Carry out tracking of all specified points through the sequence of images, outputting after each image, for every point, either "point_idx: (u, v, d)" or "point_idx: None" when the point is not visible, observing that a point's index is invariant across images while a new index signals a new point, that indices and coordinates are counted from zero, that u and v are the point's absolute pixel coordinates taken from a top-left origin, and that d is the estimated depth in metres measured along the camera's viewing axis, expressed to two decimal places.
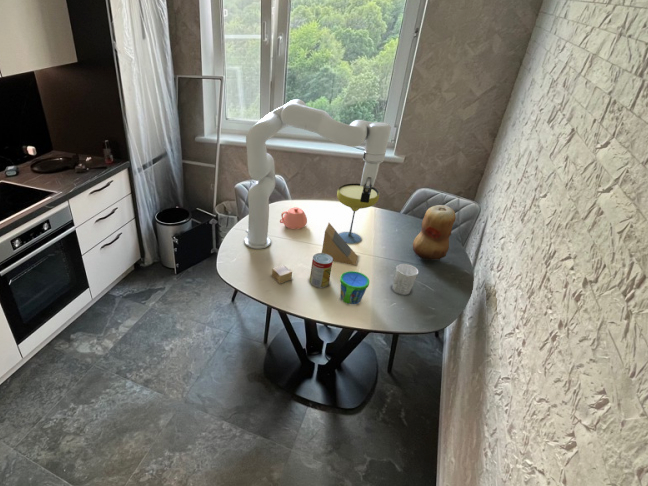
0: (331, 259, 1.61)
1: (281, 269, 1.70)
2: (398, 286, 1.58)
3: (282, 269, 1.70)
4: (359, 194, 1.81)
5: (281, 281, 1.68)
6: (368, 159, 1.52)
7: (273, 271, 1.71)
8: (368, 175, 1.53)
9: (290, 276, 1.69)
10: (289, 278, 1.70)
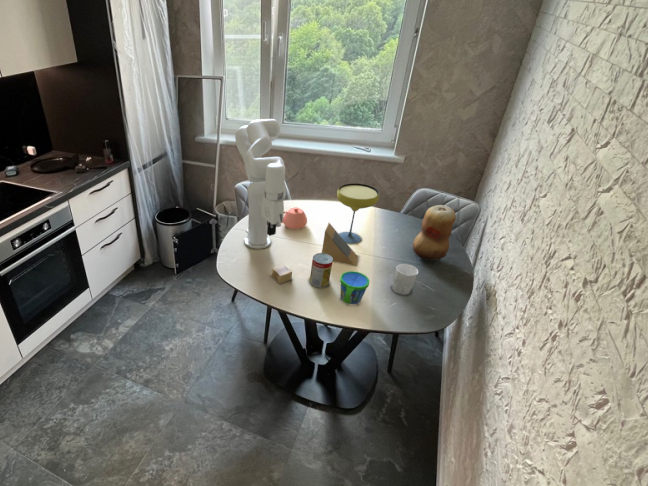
0: (331, 259, 1.61)
1: (281, 269, 1.70)
2: (398, 286, 1.58)
3: (282, 269, 1.70)
4: (359, 194, 1.81)
5: (281, 281, 1.68)
6: (275, 199, 1.56)
7: (273, 271, 1.71)
8: (279, 212, 1.59)
9: (290, 276, 1.69)
10: (289, 278, 1.70)
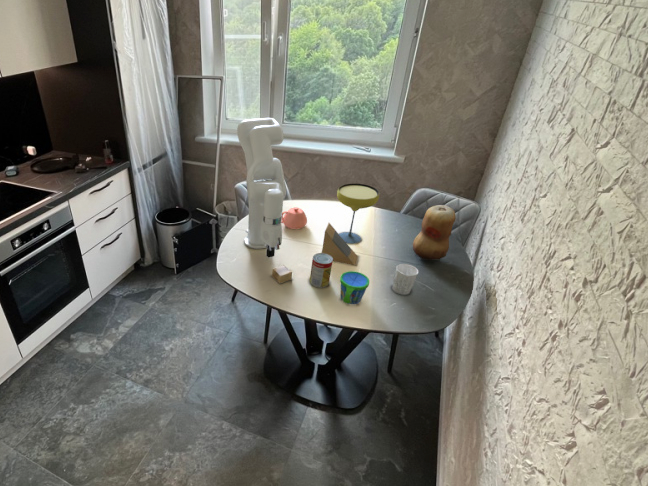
0: (331, 259, 1.61)
1: (281, 269, 1.70)
2: (398, 286, 1.58)
3: (282, 269, 1.70)
4: (359, 194, 1.81)
5: (281, 281, 1.68)
6: (273, 223, 1.62)
7: (273, 271, 1.71)
8: (277, 236, 1.64)
9: (290, 276, 1.69)
10: (289, 278, 1.70)
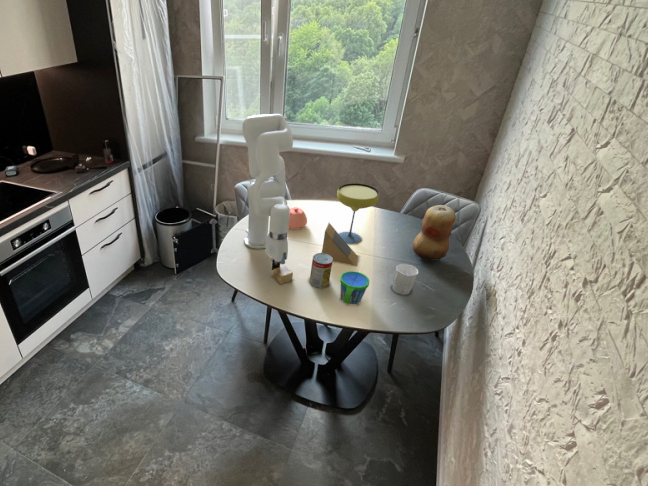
0: (331, 259, 1.61)
1: (281, 269, 1.70)
2: (398, 286, 1.58)
3: (282, 270, 1.70)
4: (359, 194, 1.81)
5: (282, 282, 1.68)
6: (279, 238, 1.61)
7: (274, 272, 1.70)
8: (283, 251, 1.64)
9: (291, 277, 1.69)
10: (290, 279, 1.69)
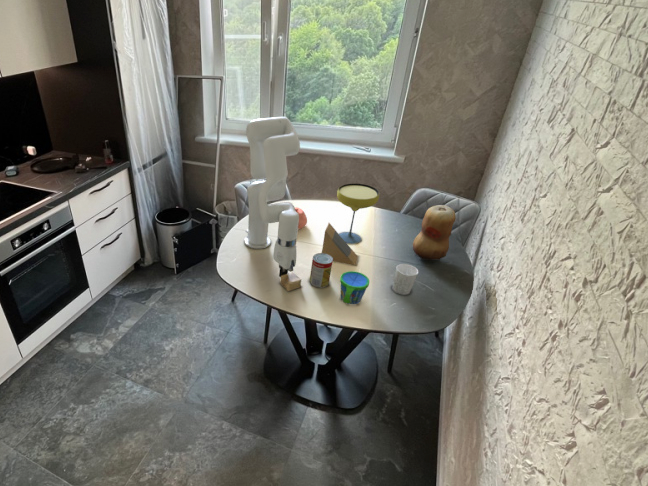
0: (331, 259, 1.61)
1: (290, 276, 1.66)
2: (398, 286, 1.58)
3: (290, 277, 1.65)
4: (359, 194, 1.81)
5: (290, 289, 1.64)
6: (288, 245, 1.57)
7: (281, 278, 1.66)
8: (292, 258, 1.59)
9: (299, 283, 1.65)
10: (298, 286, 1.65)
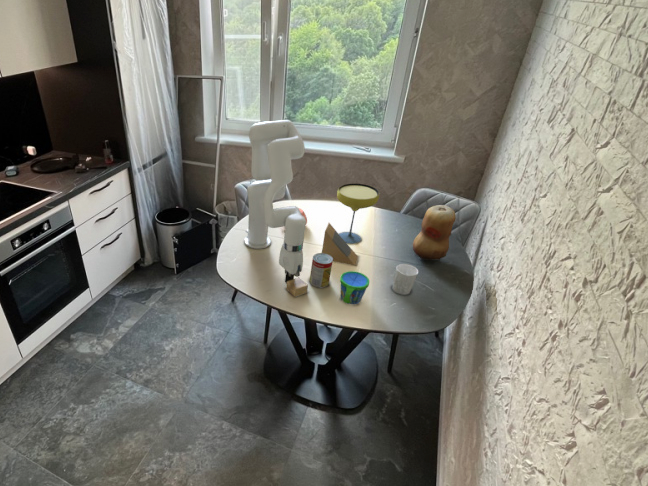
0: (331, 259, 1.61)
1: (296, 281, 1.63)
2: (398, 286, 1.58)
3: (297, 282, 1.62)
4: (359, 194, 1.81)
5: (296, 294, 1.61)
6: (294, 250, 1.54)
7: (288, 284, 1.63)
8: (298, 263, 1.56)
9: (306, 289, 1.62)
10: (304, 291, 1.62)
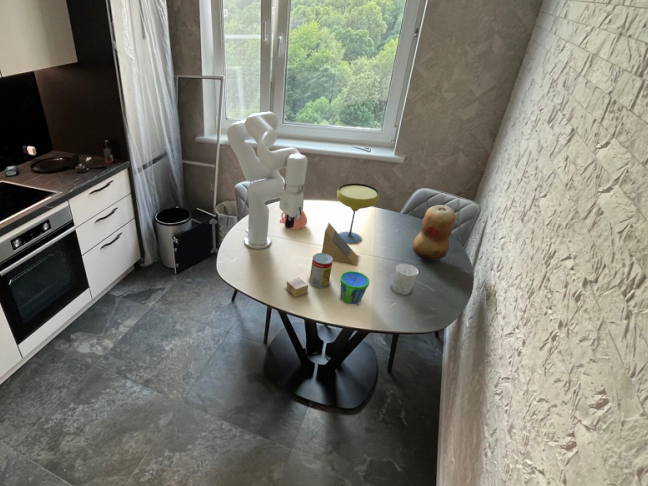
0: (331, 259, 1.61)
1: (296, 281, 1.62)
2: (398, 286, 1.58)
3: (297, 282, 1.62)
4: (359, 194, 1.81)
5: (296, 295, 1.60)
6: (295, 191, 1.52)
7: (288, 284, 1.63)
8: (298, 205, 1.55)
9: (306, 289, 1.61)
10: (305, 291, 1.62)
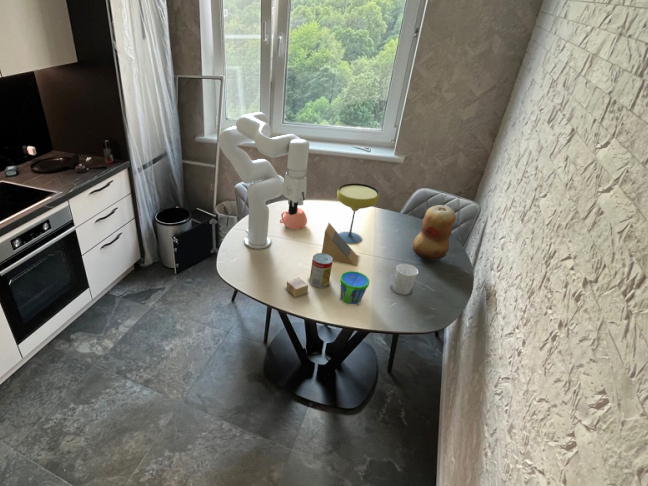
0: (331, 259, 1.61)
1: (296, 281, 1.62)
2: (398, 286, 1.58)
3: (297, 282, 1.62)
4: (359, 194, 1.81)
5: (296, 295, 1.60)
6: (298, 176, 1.54)
7: (288, 284, 1.63)
8: (302, 190, 1.56)
9: (306, 289, 1.61)
10: (305, 291, 1.62)
